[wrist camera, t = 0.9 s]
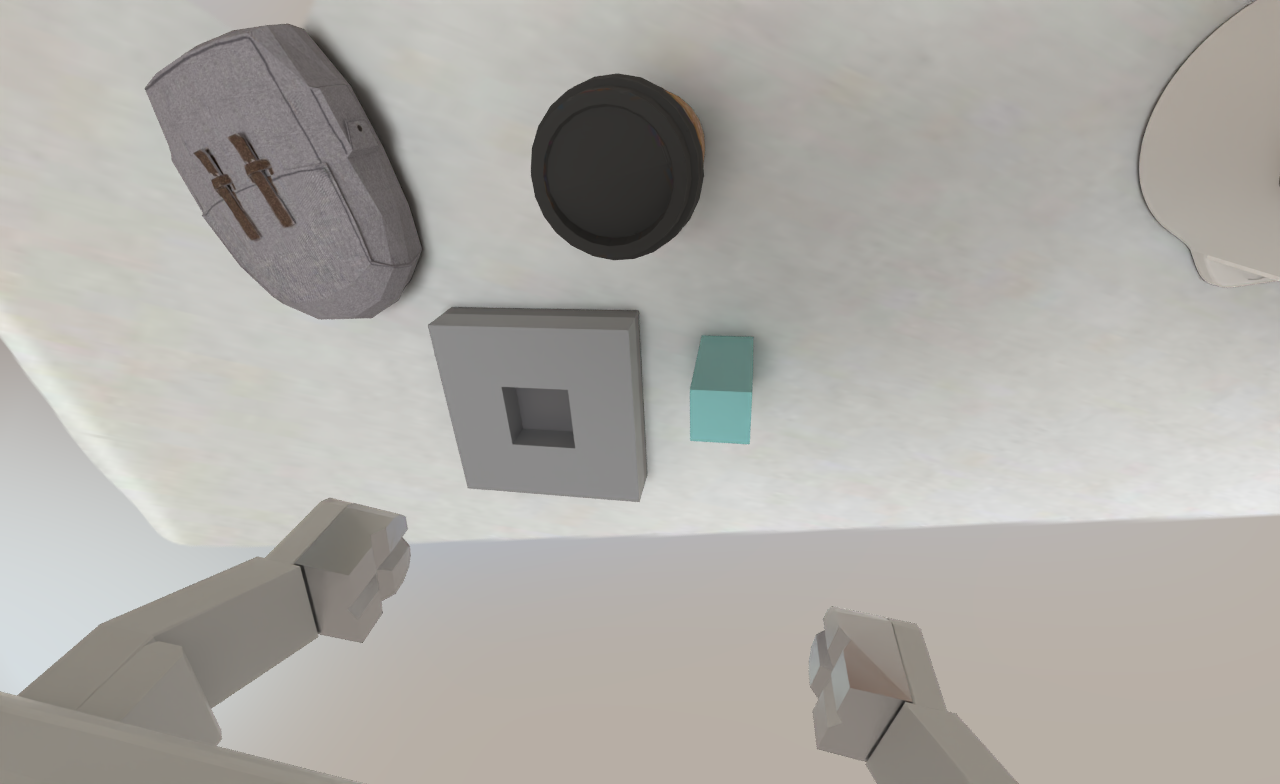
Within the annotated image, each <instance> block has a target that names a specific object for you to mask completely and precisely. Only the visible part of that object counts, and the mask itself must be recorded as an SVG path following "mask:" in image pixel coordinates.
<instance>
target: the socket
mask: <svg viewBox="0 0 1280 784" xmlns="http://www.w3.org/2000/svg"><path fill="white" fill-rule="evenodd" d="M428 328H429V332H430V336H431V340H432V344H433V348H434V353H435V357H436V361H437V365H438V369H439V373H440V377H441V381H442V385H443V389H444V393H445V397H446V401H447V405H448V409H449V413H450V417H451V421H452V425H453V429H454V434H455V438H456V442H457V446H458V450H459V454H460V458H461V462H462V466H463V470H464V474H465V478H466V482H467V486H468V488H472V489H484V490H497V491H509V492H521V493H534V494H546V495H558V496H571V497H583V498H595V499H608V500H620V501H632V502H640V498H641V495H642V491H643V488H644V484H645V481H646V477H647V459H646V440H645V422H644V403H643V385H642V366H641V348H640V330H639V311H631V310H575V309H520V308H464V307H451V308H450V309H449V310H447V311H446V312H445V313H443V314H442V315H441V316H439V317H438V318H437V319H435V320H434V321H433V322H431V323H430V324H429V325H428Z"/></svg>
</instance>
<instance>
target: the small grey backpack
mask: <svg viewBox="0 0 1280 784" xmlns="http://www.w3.org/2000/svg"><path fill="white" fill-rule="evenodd" d="M145 90H146V92H147V95H148V97H149V100H150V102H151V104H152V107H153V109H154V112H155V114H156V116H157V119H158V121H159V123H160V126H161V128H162V131H163V133H164V135H165V138H166V140H167V143H168V145H169V148H170V151H171V157H172V162H173V163H174V165H175V167H176V168H177V170H178V172H179V173H180V175H181V177H182V178H183V180H184V182H185V184H186V185H187V187H188V189H189V190H190V192H191V194H192V195H193V197H194V199H195V200H196V202H197V204H198V205H199V207H200V209H201V210H202V212H203V215H202V216H203V217H204V219H205V220H206V221H207V223H208V224H209V225H210V227H211V228H212V229H213V231H214V232H215V233H216V235H217V236H218V237H219V239H220V240H221V241H222V242H223V244H224V245H225V246H226V248H227V249H228V250H229V252H230V253H231V254H232V256H233V257H234V258H235V260H236V261H237V262H238V264H239V265H240V266H241V267H242V268H243V269H244V270H245V271H246V272H247V273H248V274H249V275H250V276H251V277H252V278H254V279H255V280H256V281H257V282H258V283H259V284H260V285H261V286H262V287H263V288H264V289H265V290H266V291H267V292H268V293H269V294H271V295H272V296H273V297H274V298H276V299H277V300H279V301H280V302H282V303H283V304H285V305H288V306H290V307H292V308H294V309H297V310H299V311H301V312H304V313H306V314H308V315H310V316H313V317H315V318H317V319H353V318H373V317H374V316H376V315H377V314H379V313H380V312H382V311H383V310H385V309H386V308H388V307H389V306H391V305H392V304H394V303H395V302H397V301H398V300H399V298H400V296H401V294H402V292H403V290H404V288H405V286H406V285H407V284H408V282H409V281H410V280H411V278H412V275H413V273H414V270H415V267H416V265H417V262H418V259H419V257H420V254H421V251H422V247H421V244H420V241H419V237H418V234H417V231H416V227H415V224H414V221H413V217H412V214H411V211H410V207H409V205H408V202H407V200H406V198H405V195H404V193H403V191H402V189H401V186H400V184H399V182H398V180H397V177H396V175H395V173H394V170H393V168H392V166H391V164H390V161H389V159H388V157H387V155H386V152H385V150H384V148H383V146H382V144H381V142H380V140H379V138H378V136H377V135H376V133H375V131H374V129H373V127H372V125H371V123H370V121H369V119H368V118H367V116H366V114H365V112H364V110H363V108H362V106H361V104H360V103H359V101H358V99H357V97H356V95H355V93H354V91H353V89H352V87H351V86H350V84H349V83H348V82H347V81H346V80H345V78H344V77H343V76H342V75H341V73H340V72H339V71H338V70H337V69H336V67H335V66H334V65H333V64H332V63H331V61H330V60H329V59H328V58H327V56H326V55H325V54H324V53H323V52H322V50H321V49H320V48H319V47H318V46H317V44H316V43H315V42H314V41H313V40H312V38H311V37H310V36H309V35H308V33H307V32H306V31H305V30H304V29H302V28H299V27H296V26H293V25H290V24H279V25H266V26H259V27H254V28H247V29H240V30H233V31H231V32H228V33H226V34H223V35H221V36H219V37H216V38H214V39H212V40H209V41H207V42H204V43H202V44H200V45H197V46H196V47H194V48H193V49H191V50H190V51H188V52H187V53H185V54H184V55H182V56H181V57H179V58H178V59H176V60H175V61H174V62H172V63H171V64H169V65H168V66H166V67H165V68H163V69H162V70H161V71H159V72H158V73H156V74H155V76H154V77H153V78H152V80H151V81H150V82H149V83H148V85H147V86H146V87H145Z"/></svg>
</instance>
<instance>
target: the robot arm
mask: <svg viewBox="0 0 1280 784" xmlns="http://www.w3.org/2000/svg"><path fill="white" fill-rule="evenodd" d="M1139 176H1140V184H1141V189H1142V193H1143V196H1144V199H1145V201H1146V204H1147V206H1148V208H1149V209H1150V211H1151V213H1152V214H1153V216H1154V217H1155V218H1156V220H1157V221H1158V222H1159V223H1160V224H1161V225H1162V226H1163V227H1164V228H1165V229H1167V230H1168V231H1169V232H1171V233H1172V234H1173V235H1175V236H1176V237H1177V238H1179V239H1180V240H1181V241H1183V242H1184V243H1185V244H1186V245H1187V246H1188V247H1189V249H1190V250H1191V253H1192V257H1193V259H1194V262H1195V265H1196V268H1197V270H1198V272H1199V274H1200V276H1201V277H1202V279H1203V280H1204V281H1206V282H1207V283H1209V284H1213V285H1216V286H1220V287H1224V288H1231V287H1239V286H1246V285H1253V284H1260V283H1267V282H1274V281H1280V0H1256V1H1255V2H1253V3H1252V4H1250V5H1249V6H1247V7H1246V8H1244V9H1243V10H1241V11H1240V12H1239V13H1237V14H1236V15H1234V16H1233V17H1232V18H1231V19H1229V20H1228V21H1227V22H1225V23H1224V24H1223V25H1222V26H1221V27H1219V28H1218V29H1217V30H1216V31H1215V32H1214V33H1213V34H1211V35H1210V36H1209V37H1208V38H1207V39H1206V40H1205V41H1204V42H1203V43H1202V44H1201V45H1200V46H1199V47H1198V48H1197V49H1196V50H1195V51H1194V52H1193V53H1192V55H1191V56H1190V57H1189V58H1188V59H1187V60H1186V61H1185V63H1184V64H1183V65H1182V66H1181V67H1180V69H1179V70H1178V71H1177V73H1176V74H1175V75H1174V77H1173V78H1172V80H1171V81H1170V83H1169V84H1168V86H1167V87H1166V89H1165V90H1164V92H1163V94H1162V95H1161V97H1160V99H1159V101H1158V103H1157V104H1156V106H1155V108H1154V111H1153V113H1152V115H1151V117H1150V120H1149V122H1148V125H1147V128H1146V131H1145V134H1144V137H1143V142H1142V146H1141V152H1140V161H1139ZM407 530H408V528H407V522H406V517H405V516H403V515H401V514H397V513H393V512H389V511H384V510H380V509H376V508H372V507H368V506H364V505H360V504H356V503H350V502H346V501H342V500H337V499H333V498H328V499H325V500H323V501H321V502H320V503H319V504H318V505H317V506H316V507H315V508H314V509H313V510H312V511H311V512H310V513H309V514H308V515H307V516H306V517H305V518H304V519H303V520H302V521H301V522H300V523H299V524H298V525H297V526H296V527H295V528H294V529H293V530H292V531H291V532H290V533H289V534H288V535H287V536H286V537H285V538H284V539H283V540H282V541H281V542H280V543H279V544H278V545H277V546H276V547H275V548H274V549H273V550H272V551H271V552H270V553H269V554H268V555H267V556H266V557H265V558H262V557H255V558H253V559H251V560H248V561H246V562H244V563H241V564H239V565H237V566H234V567H232V568H230V569H228V570H225V571H223V572H220V573H218V574H216V575H213V576H211V577H209V578H206V579H204V580H202V581H199V582H197V583H195V584H192V585H190V586H188V587H185V588H183V589H181V590H178V591H176V592H174V593H172V594H169V595H167V596H165V597H162V598H160V599H158V600H155V601H153V602H151V603H148V604H146V605H144V606H142V607H139V608H137V609H134V610H132V611H130V612H127V613H125V614H123V615H121V616H118V617H116V618H113V619H111V620H109V621H107V622H104V623H102V624H100V625H99V626H98V627H96V628H95V629H94V630H93V631H92V632H91V633H89V634H88V635H87V636H86V637H85V638H84V639H83V640H81V641H80V642H79V643H78V644H77V645H76V646H74V647H73V648H72V649H71V650H70V651H68V652H67V653H66V654H65V655H64V656H63V657H62V658H60V659H59V660H58V661H57V662H56V663H54V664H53V665H52V666H51V667H50V668H49V669H47V670H46V671H45V672H44V673H43V674H42V675H40V676H39V677H38V678H37V679H36V680H35V681H33V682H32V683H31V684H30V685H29V686H28V687H26V688H25V689H24V690H23V691H22V692H21V693H20V694H19V695H17V696H16V695H12V694H8V693H4V692H0V784H365V783H361V782H357V781H353V780H349V779H345V778H341V777H337V776H333V775H329V774H325V773H321V772H317V771H313V770H309V769H306V768H302V767H298V766H294V765H290V764H285V763H282V762H278V761H274V760H270V759H266V758H262V757H258V756H254V755H250V754H246V753H242V752H238V751H234V750H230V749H226V748H222V747H218V746H217V745H218V743H219V742H220V741H221V739H222V736H221V729H220V727H219V725H218V723H217V720H216V718H215V716H214V714H213V712H212V710H211V708H213V707H214V706H216V705H217V704H219V703H220V702H222V701H223V700H225V699H226V698H228V697H229V696H231V695H232V694H234V693H235V692H237V691H238V690H240V689H241V688H243V687H244V686H245V685H247V684H249V683H250V682H252V681H253V680H255V679H256V678H258V677H259V676H261V675H262V674H263V673H265V672H267V671H268V670H269V669H271V668H273V667H274V666H276V665H277V664H279V663H280V662H281V661H283V660H284V659H286V658H288V657H289V656H290V655H292V654H294V653H295V652H296V651H298V650H300V649H301V648H302V647H304V646H305V645H307V644H308V643H310V642H311V641H313V640H314V639H316V638H317V637H318V634H320V635H325V636H330V637H335V638H341V639H345V640H350V641H355V642H360V643H363V642H364V640H365V639H366V637H367V636H368V634H369V633H370V631H371V629H372V628H373V627H374V625H375V623H376V622H377V621H378V619H379V618H380V616H381V615H382V613H383V611H382V602H381V601H383V600H385V599H387V598H389V597H390V596H392V595H394V594H396V592H397V590H398V589H399V587H400V586H401V584H402V583H403V581H404V578H405V576H406V573H407V571H408V568H409V563H410V556H411V555H410V546H409V544H408V543H407V542H406V541H405V540H404V538H403V537H402V536H403V535H404V534H405V532H406V531H407ZM823 621H824V629H825V630H824V631H822V632H821V633H818V634H817V635H816V636H815V639H814V641H813V644H812V646H811V653H810V658H809V680H810V687H811V689H812V690H813V692H814V693H815V695H816V696H817V697H818V701H817V703H816V705H815V707H814V709H813V718H814V728H815V736H816V745H817V749H819V750H823V751H827V752H830V753H834V754H838V755H842V756H846V757H850V758H853V759H857V760H861V761H865V762H867V763H866V766H867V767H868V769H869V771H870V773H871V774H872V776H873V778H874V779H875V781H876V783H877V784H1019V783H1018V782H1017V781H1016V780H1015V779H1014V778H1013V777H1012V776H1011V775H1010V773H1009V772H1008V771H1007V770H1006V769H1005V768H1004V767H1003V766H1002V764H1001V763H1000V762H999V761H998V760H997V759H996V758H995V757H994V755H993V754H992V753H991V752H990V751H989V750H988V749H987V748H986V746H985V745H984V744H983V743H982V742H981V741H980V740H979V739H978V737H977V736H976V735H975V734H974V733H973V732H972V731H971V730H970V728H969V727H968V726H967V725H966V724H965V723H964V722H963V721H962V719H961V718H960V717H959V716H958V715H957V714H955V713H952V712H948V711H947V709H946V706H945V703H944V700H943V696H942V693H941V690H940V687H939V684H938V681H937V678H936V675H935V672H934V669H933V666H932V662H931V659H930V656H929V653H928V650H927V647H926V644H925V641H924V638H923V635H922V632H921V629H920V628H919V627H918V625H917V624H915V623H911V622H905V621H901V620H896V619H892V618H885V617H883V616H878V615H873V614H868V613H863V612H859V611H854V610H849V609H844V608H839V607H834V606H832V607H830V608H829V609H828V610H827V612H826V614H825V616H824V618H823Z"/></svg>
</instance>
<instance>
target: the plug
mask: <svg viewBox="0 0 1280 784" xmlns="http://www.w3.org/2000/svg"><path fill="white" fill-rule="evenodd" d="M752 380H753V337H741V336H702V337H701V342H700V346H699V351H698V356H697V360H696V365H695V369H694V374H693V378H692V383H691V387H690V441H703V442H719V443H736V444H750V426H751V406H752Z"/></svg>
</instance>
